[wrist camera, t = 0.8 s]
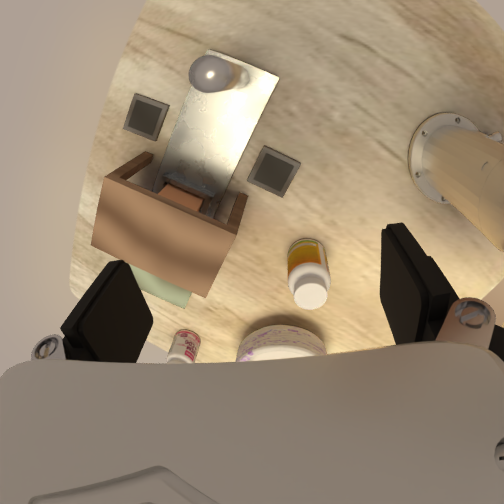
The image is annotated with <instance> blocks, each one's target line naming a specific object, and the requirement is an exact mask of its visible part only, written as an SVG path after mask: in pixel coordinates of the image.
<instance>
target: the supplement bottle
mask: <svg viewBox="0 0 504 504" xmlns="http://www.w3.org/2000/svg"><path fill="white" fill-rule="evenodd" d="M330 284H331V278H330V272H329V267H328V262H327V257H326V253H325V250H324V248H323V246H322V245H321V244H320V243H319V242H317V241H315V240H312V239H302V240H299V241H297V242H295V243H294V244H293V245H292V246H291V247H290V249H289V252H288V287H289V290H290V291H291V293H292V294H293V295H294V300H295V303H296V304H297V305H298V306H299V307H301V308H303V309H308V310H311V309H316V308H319V307H321V306H322V305H323V304H324V303H325V302H326V300H327V291H328V290H329V287H330Z"/></svg>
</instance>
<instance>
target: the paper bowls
mask: <svg viewBox="0 0 504 504" xmlns="http://www.w3.org/2000/svg"><path fill="white" fill-rule="evenodd" d="M324 354H327V352H326V348H325V345H324V343H323V342H322V341H321V340H320V339H319V338H318V337H317V336H316V335H315V334H313V333H311V332H310V331H308V330H306V329H303V328H300V327H296V326H290V325H271V326H268V327H263V328H261V329H259V330H257V331H254V332H252V333H251V334H250V335H248V336H247V337H246V338H245V339H244V340H243V341H242V342H241V344H240V346H239V349H238V353H237V358H236V362H243V361H258V360H272V359H284V358H295V357H305V356H315V355H324Z"/></svg>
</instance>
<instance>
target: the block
mask: <svg viewBox="0 0 504 504" xmlns="http://www.w3.org/2000/svg"><path fill="white" fill-rule="evenodd" d="M158 195H161V196H163V197H165V198H167V199H170V200H172V201H174V202H176V203H179V204H181V205H183V206H185V207H188V208H190V209H192V210H195V211H197V212H199V211H200V208H201V206H202V203H203V201H204V199H205V198H202V197H200V196H198V195H196V194H193V193H191V192H189V191H186V190H184V189H182V188H180V187H177V186H175V185H173V184H170V183H168V184H167V185H166V186H165V187H164V188H163V189H162V190H161V191H160V192H159V193H158Z"/></svg>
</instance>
